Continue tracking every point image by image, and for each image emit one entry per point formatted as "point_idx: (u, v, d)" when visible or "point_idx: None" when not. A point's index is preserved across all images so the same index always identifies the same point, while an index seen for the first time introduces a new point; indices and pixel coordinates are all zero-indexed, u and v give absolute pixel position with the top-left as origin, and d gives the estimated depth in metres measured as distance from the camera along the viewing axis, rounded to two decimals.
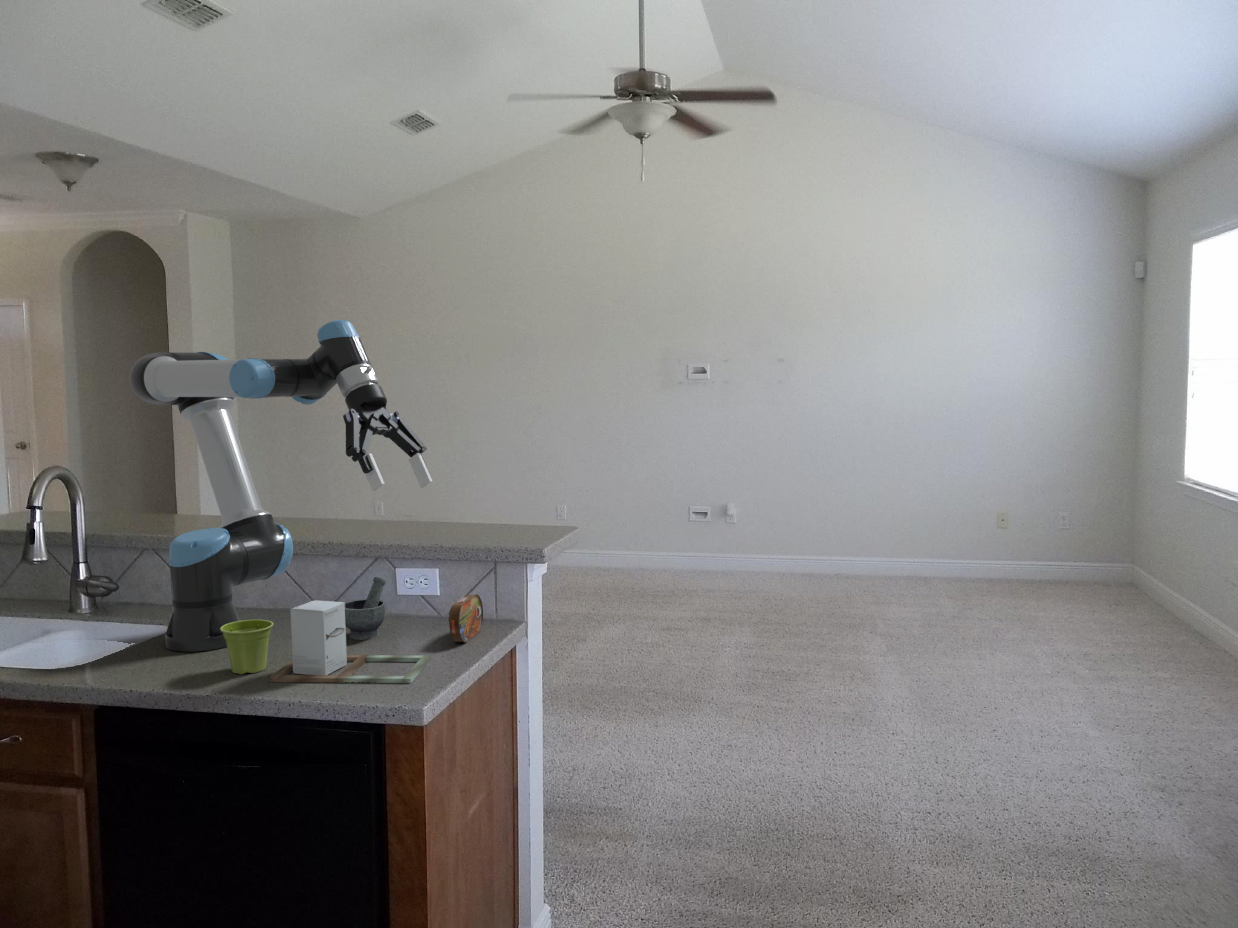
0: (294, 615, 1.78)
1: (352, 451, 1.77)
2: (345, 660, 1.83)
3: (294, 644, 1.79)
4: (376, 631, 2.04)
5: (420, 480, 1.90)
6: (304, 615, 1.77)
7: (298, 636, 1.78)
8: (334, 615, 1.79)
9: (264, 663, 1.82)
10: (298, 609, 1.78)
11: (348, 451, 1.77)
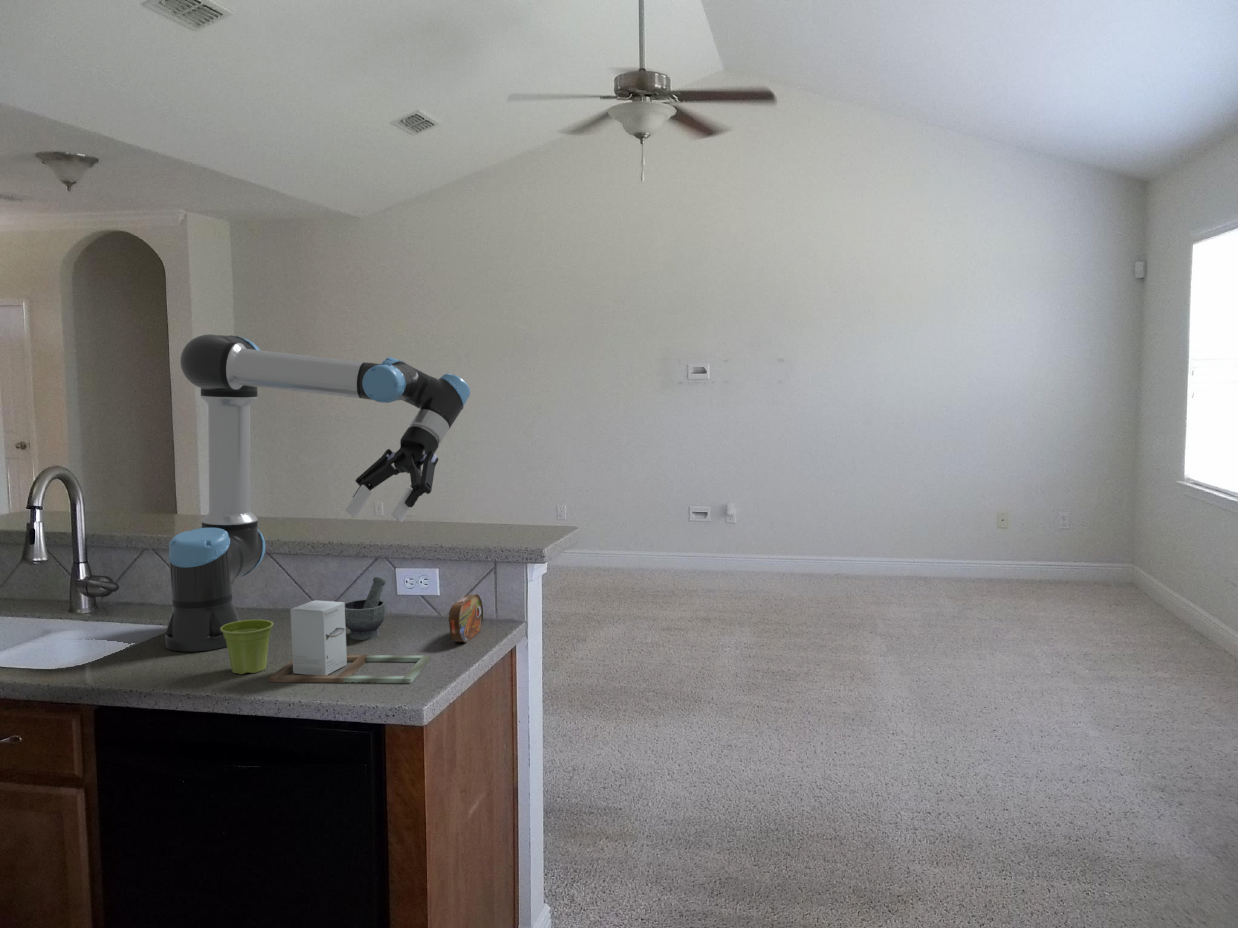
0: (294, 615, 1.78)
1: (427, 490, 1.90)
2: (345, 660, 1.83)
3: (294, 644, 1.79)
4: (376, 631, 2.04)
5: (353, 506, 1.96)
6: (304, 615, 1.77)
7: (298, 636, 1.78)
8: (334, 615, 1.79)
9: (264, 663, 1.82)
10: (298, 609, 1.78)
11: (426, 486, 1.90)
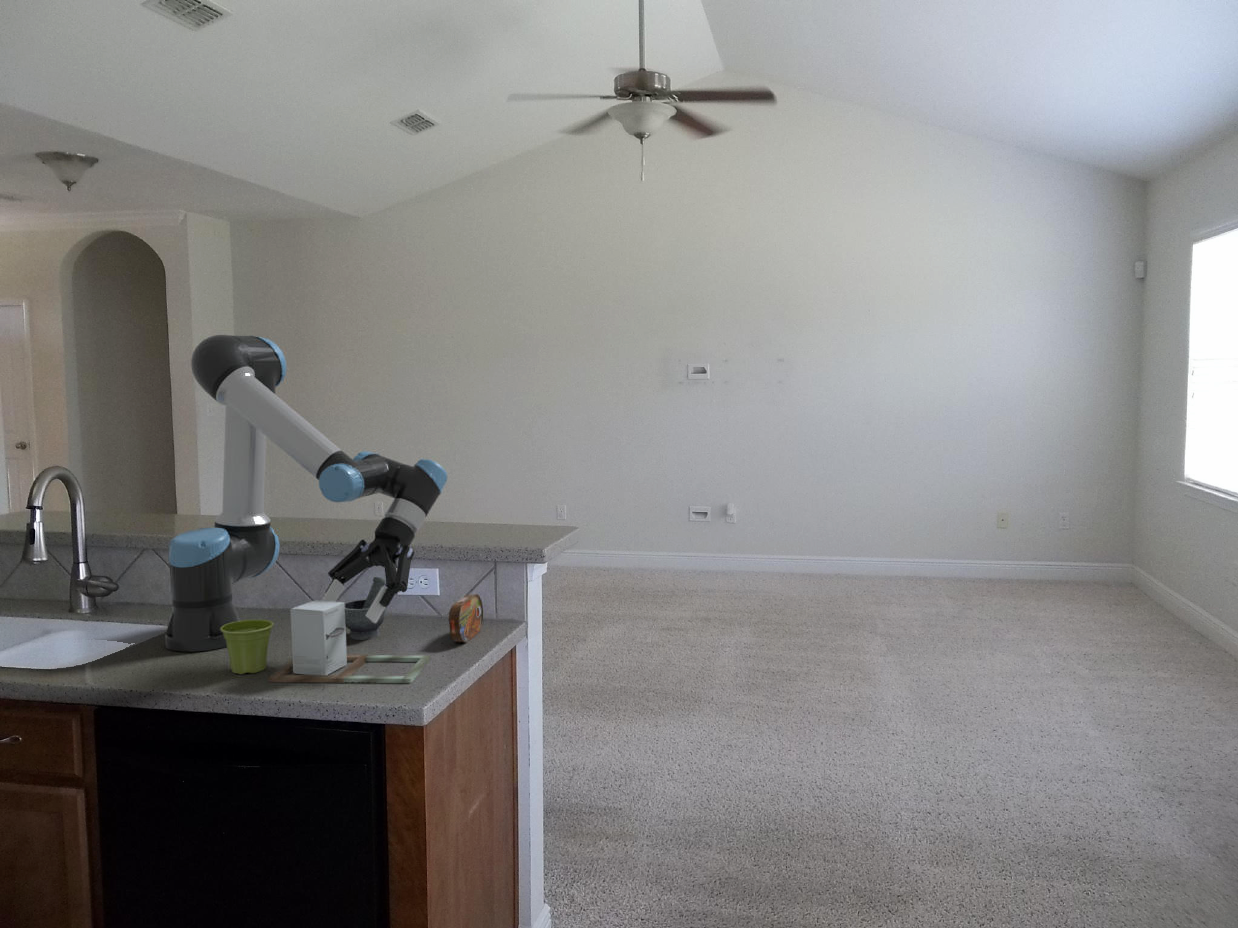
0: (294, 615, 1.78)
1: (402, 588, 1.83)
2: (345, 660, 1.83)
3: (294, 644, 1.79)
4: (376, 631, 2.04)
5: None
6: (304, 615, 1.77)
7: (298, 636, 1.78)
8: (334, 615, 1.79)
9: (264, 663, 1.82)
10: (298, 609, 1.78)
11: (402, 584, 1.83)
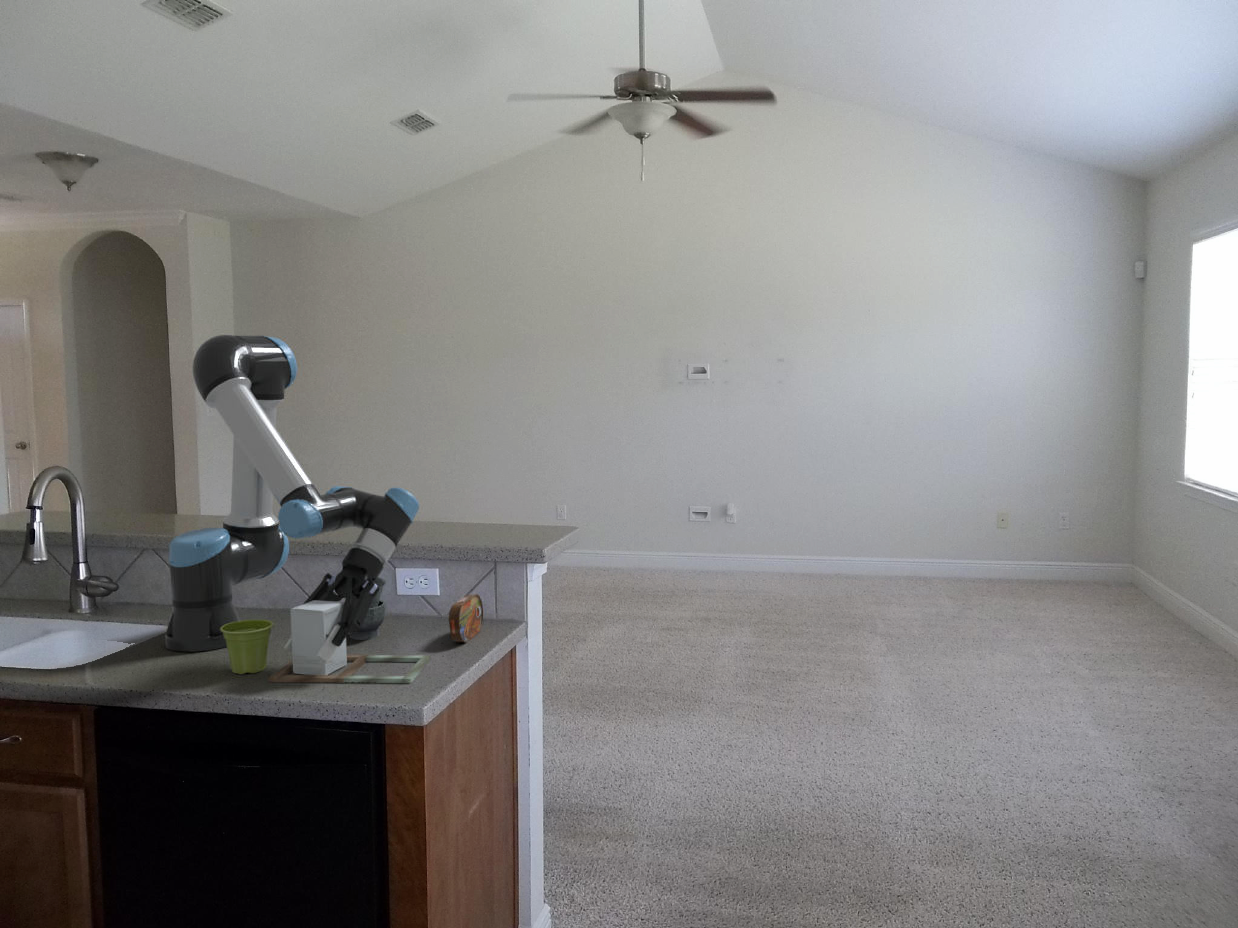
0: (294, 614, 1.78)
1: (355, 628, 1.78)
2: (345, 660, 1.83)
3: (294, 644, 1.79)
4: (376, 631, 2.04)
5: None
6: (304, 615, 1.77)
7: (298, 636, 1.78)
8: (334, 615, 1.79)
9: (264, 663, 1.82)
10: (298, 609, 1.78)
11: (355, 624, 1.78)
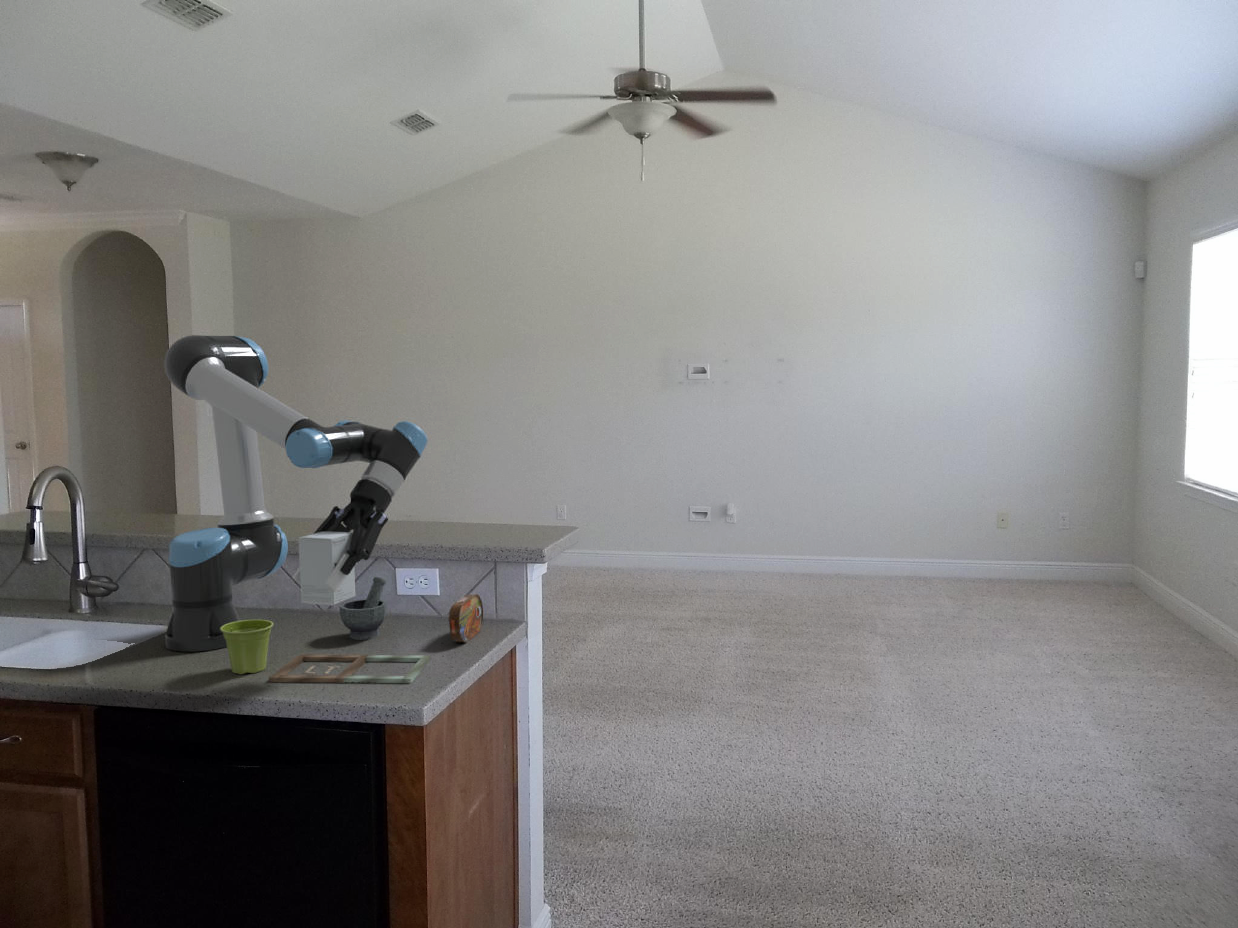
0: (302, 543, 1.76)
1: (364, 556, 1.77)
2: (353, 591, 1.82)
3: (302, 573, 1.77)
4: (376, 631, 2.04)
5: None
6: (312, 544, 1.76)
7: (306, 565, 1.77)
8: (342, 544, 1.78)
9: (264, 663, 1.82)
10: (306, 538, 1.76)
11: (363, 552, 1.76)
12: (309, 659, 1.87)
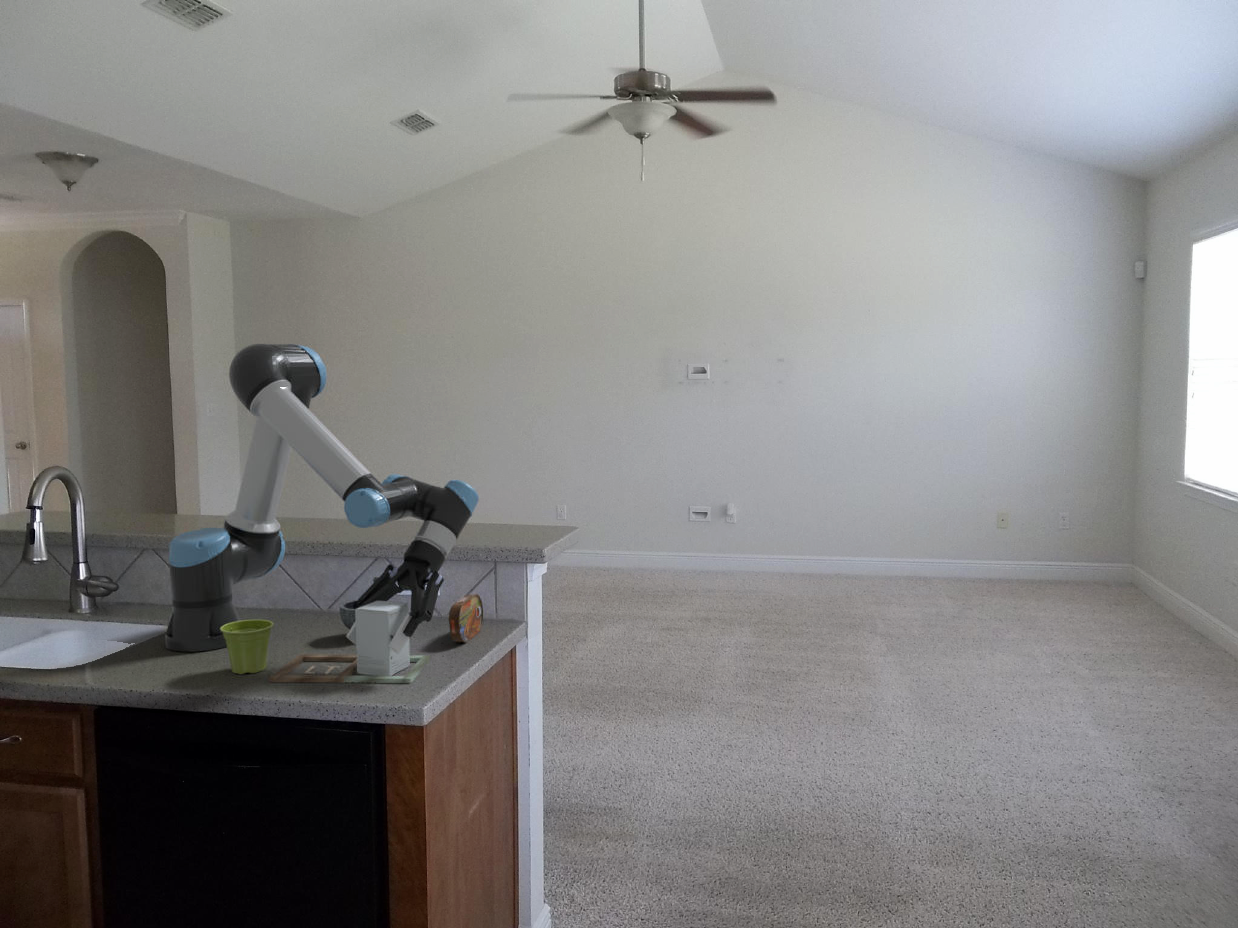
0: (359, 615, 1.78)
1: (427, 618, 1.77)
2: (408, 661, 1.83)
3: (358, 644, 1.78)
4: None
5: (354, 632, 1.81)
6: (369, 615, 1.77)
7: (362, 636, 1.78)
8: (398, 615, 1.79)
9: (264, 663, 1.82)
10: (363, 609, 1.77)
11: (426, 614, 1.77)
12: (309, 659, 1.87)
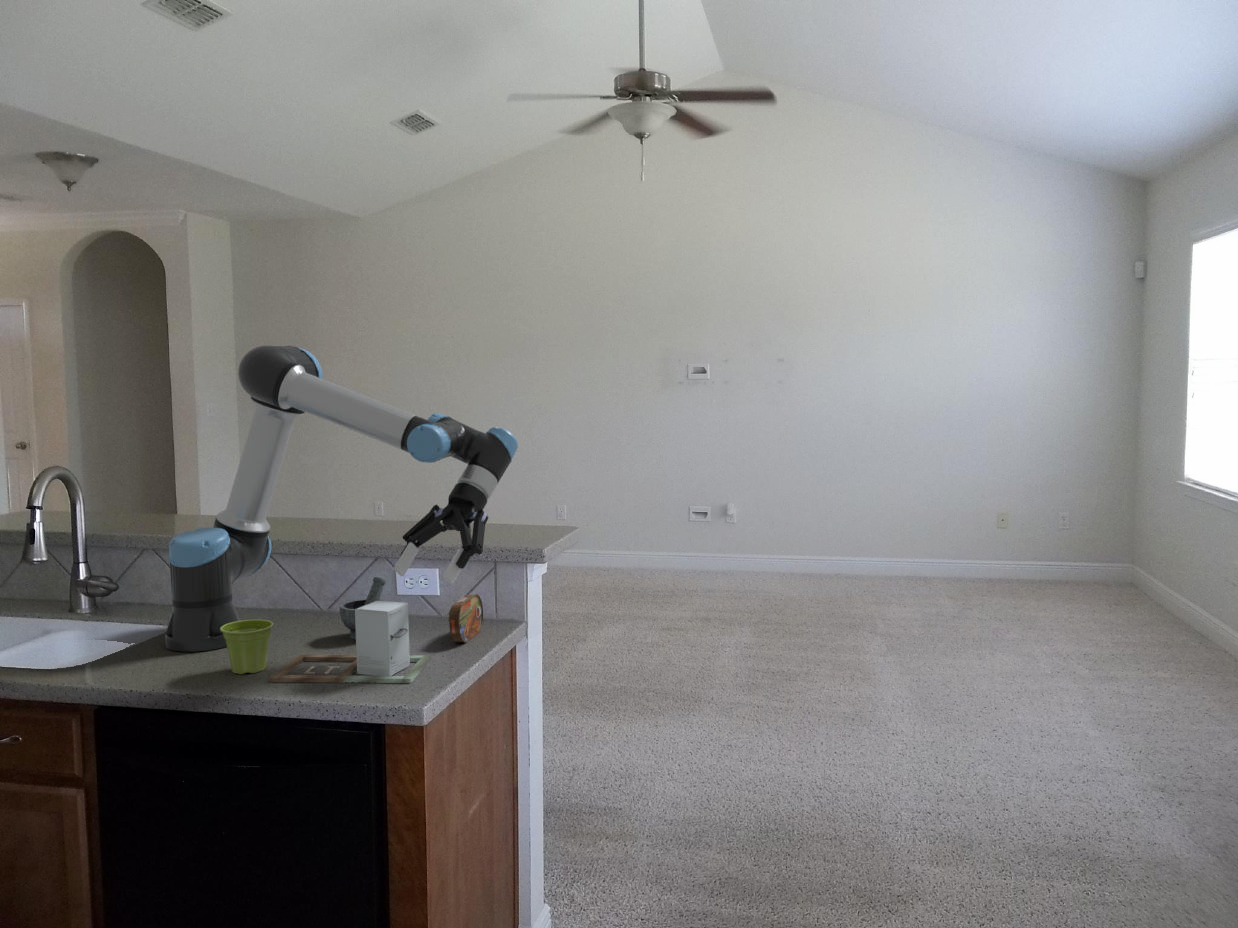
0: (359, 615, 1.77)
1: (478, 550, 1.87)
2: (408, 661, 1.83)
3: (358, 644, 1.78)
4: None
5: (401, 565, 1.92)
6: (368, 616, 1.77)
7: (362, 637, 1.78)
8: (398, 615, 1.79)
9: (264, 663, 1.82)
10: (363, 609, 1.77)
11: (478, 546, 1.86)
12: (309, 659, 1.87)
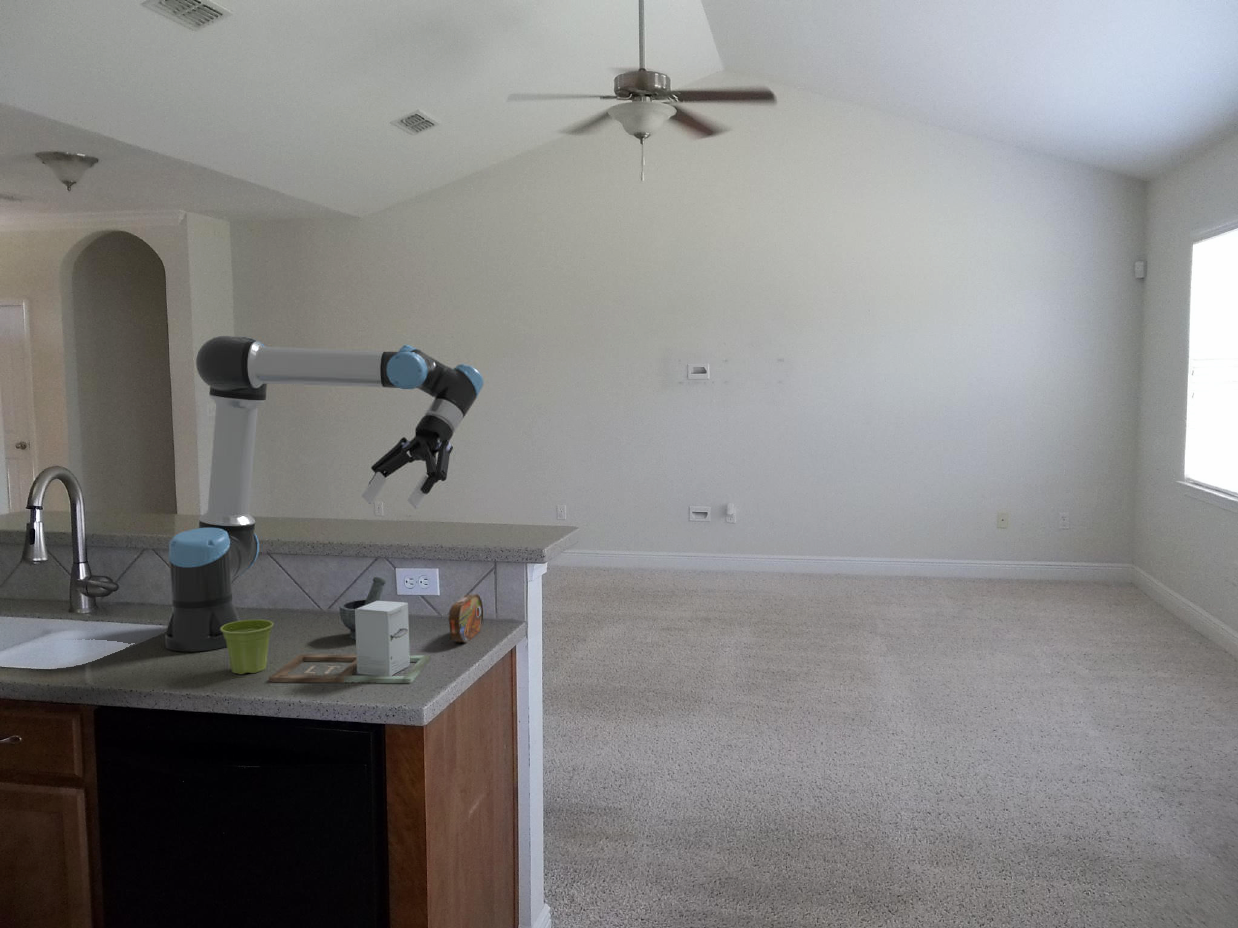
0: (359, 615, 1.77)
1: (442, 477, 1.94)
2: (408, 661, 1.83)
3: (358, 644, 1.78)
4: None
5: (368, 492, 2.00)
6: (368, 616, 1.77)
7: (362, 637, 1.78)
8: (398, 615, 1.79)
9: (264, 663, 1.82)
10: (363, 609, 1.77)
11: (442, 473, 1.94)
12: (309, 659, 1.87)
